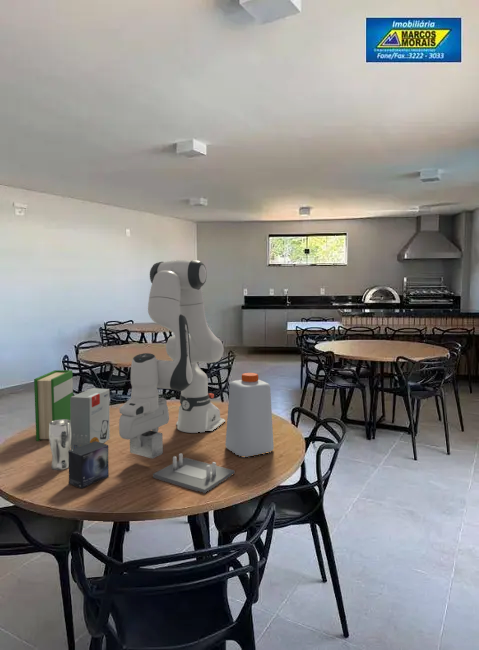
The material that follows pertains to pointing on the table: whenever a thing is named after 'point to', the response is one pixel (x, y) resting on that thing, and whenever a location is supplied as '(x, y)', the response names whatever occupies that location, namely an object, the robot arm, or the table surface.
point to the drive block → (148, 445)
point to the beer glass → (60, 443)
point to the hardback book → (52, 400)
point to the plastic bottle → (249, 417)
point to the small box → (88, 464)
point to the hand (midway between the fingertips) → (146, 443)
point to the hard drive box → (90, 417)
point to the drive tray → (193, 474)
